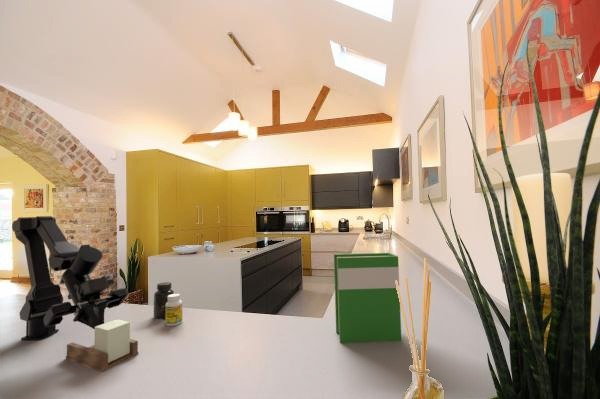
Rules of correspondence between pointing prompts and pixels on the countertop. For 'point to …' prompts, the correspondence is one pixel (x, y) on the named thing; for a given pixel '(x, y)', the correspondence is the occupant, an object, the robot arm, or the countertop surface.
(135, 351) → the wooden tray holder
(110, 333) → the sage block
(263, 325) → the countertop surface
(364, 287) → the hardback book
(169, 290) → the supplement bottle
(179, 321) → the supplement bottle
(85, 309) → the robot arm
